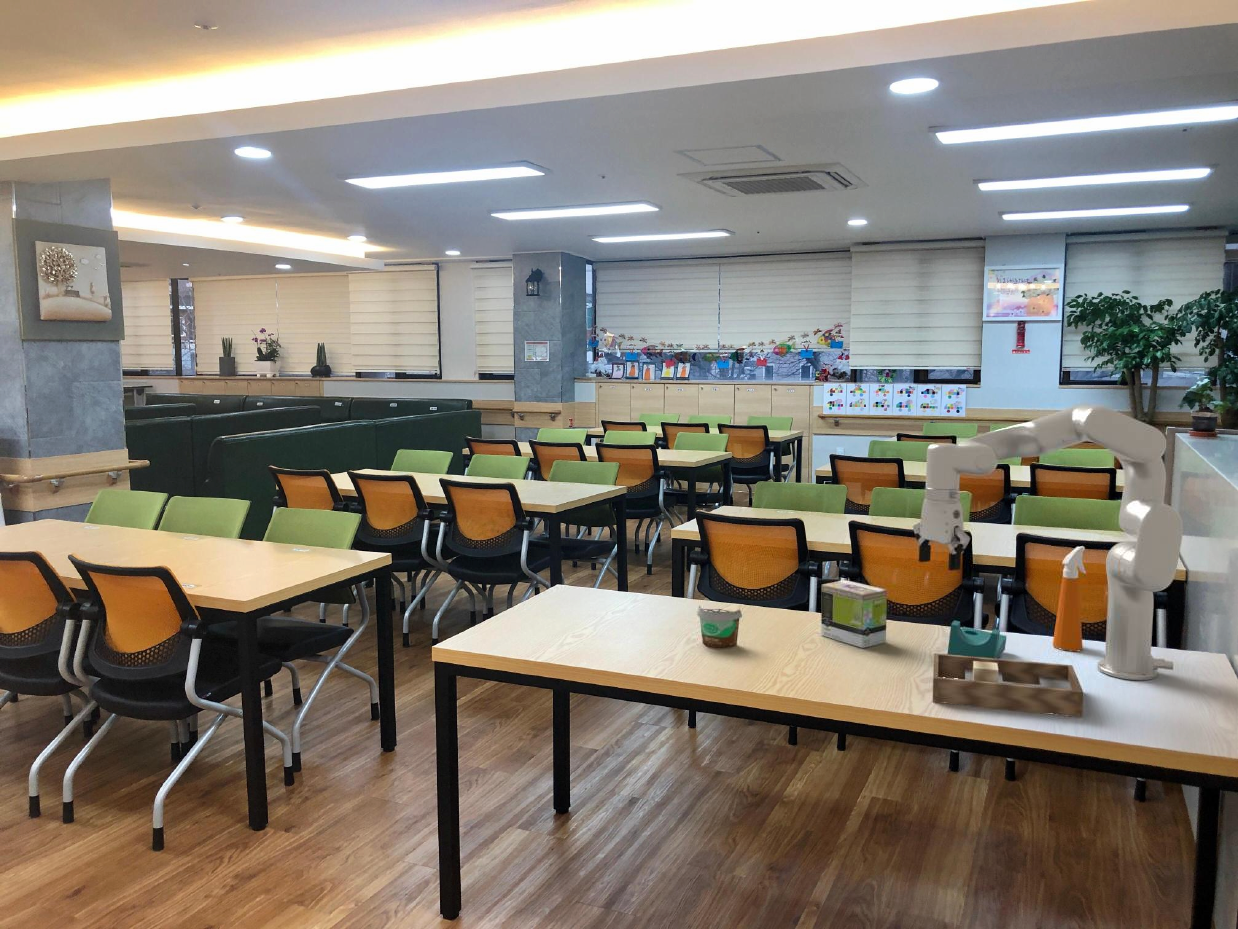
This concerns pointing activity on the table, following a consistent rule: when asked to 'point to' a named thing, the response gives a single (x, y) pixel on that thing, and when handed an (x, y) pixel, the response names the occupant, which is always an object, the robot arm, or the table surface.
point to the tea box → (854, 613)
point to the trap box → (1009, 685)
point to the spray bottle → (1070, 604)
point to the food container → (719, 627)
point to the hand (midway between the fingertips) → (939, 565)
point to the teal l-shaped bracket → (975, 642)
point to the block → (985, 671)
